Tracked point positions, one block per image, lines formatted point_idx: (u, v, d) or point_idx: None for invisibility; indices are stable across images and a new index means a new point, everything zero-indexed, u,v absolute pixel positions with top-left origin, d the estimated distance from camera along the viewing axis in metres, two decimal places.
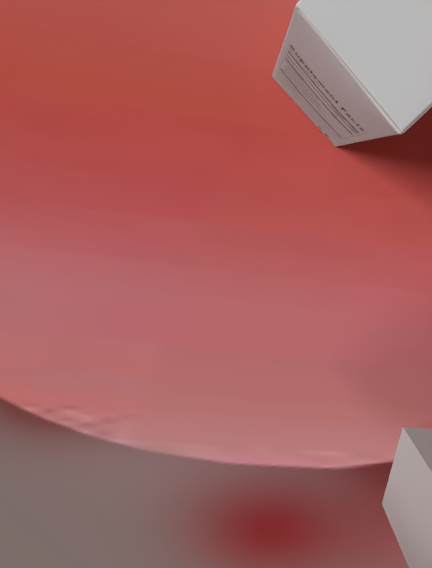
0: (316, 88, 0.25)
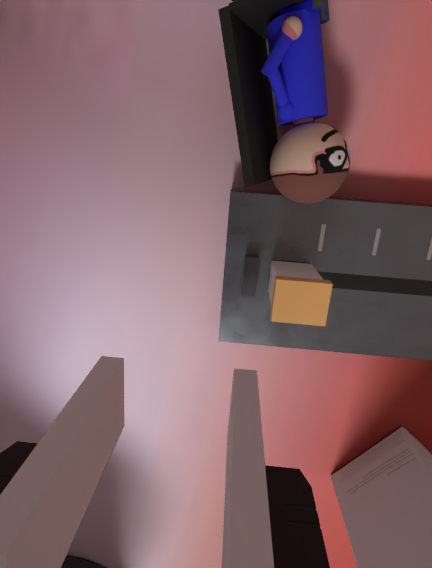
0: None
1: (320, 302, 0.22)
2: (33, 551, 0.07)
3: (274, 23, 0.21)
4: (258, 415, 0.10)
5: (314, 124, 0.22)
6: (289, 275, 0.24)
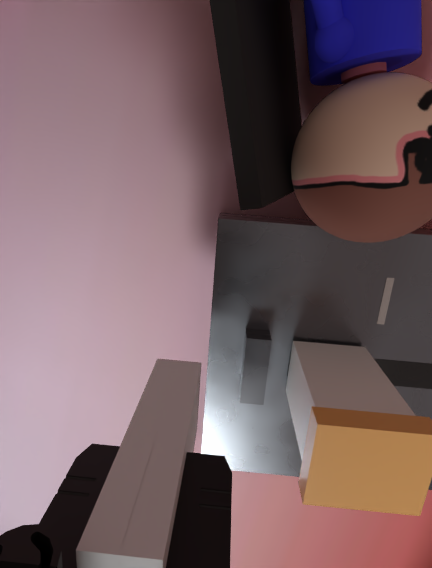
0: None
1: (414, 471, 0.10)
2: None
3: None
4: (191, 404, 0.10)
5: (395, 74, 0.10)
6: (337, 393, 0.12)
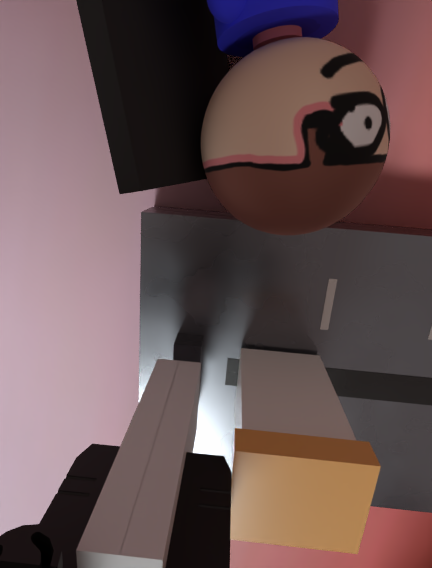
0: None
1: (348, 505, 0.09)
2: None
3: None
4: (190, 404, 0.10)
5: (304, 38, 0.09)
6: (271, 411, 0.10)
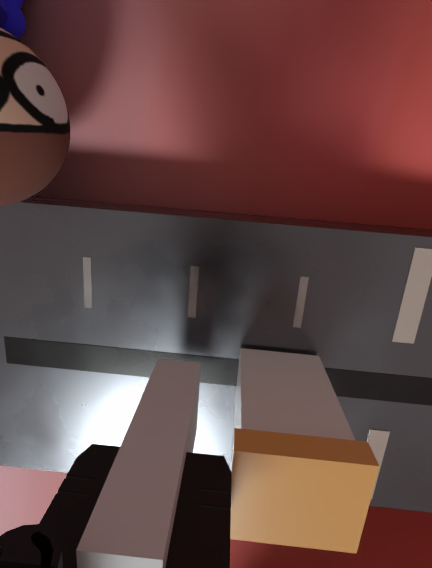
0: None
1: (347, 504, 0.09)
2: None
3: None
4: (190, 404, 0.10)
5: None
6: (271, 411, 0.10)
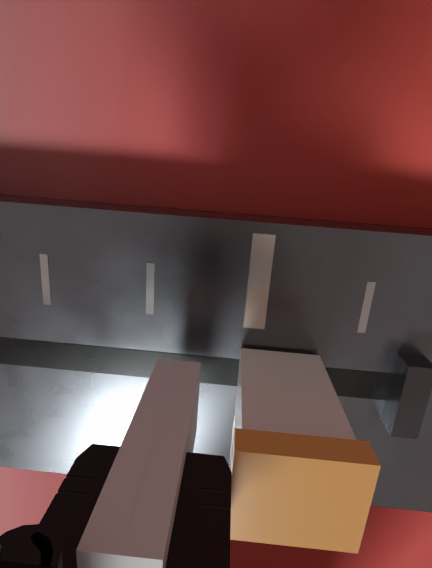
0: None
1: (348, 504, 0.09)
2: None
3: None
4: (190, 404, 0.10)
5: None
6: (271, 411, 0.10)
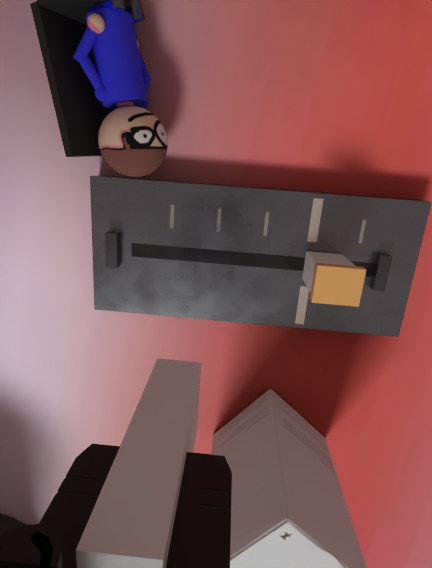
0: None
1: (355, 285, 0.26)
2: None
3: (86, 18, 0.25)
4: (191, 404, 0.10)
5: (128, 107, 0.26)
6: (326, 262, 0.28)
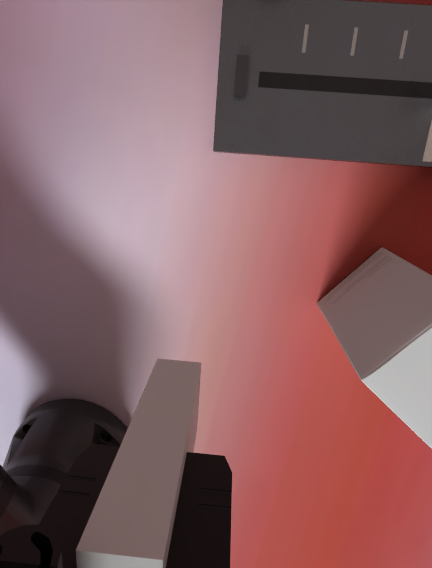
0: None
1: None
2: None
3: None
4: (190, 404, 0.10)
5: None
6: None
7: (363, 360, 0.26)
